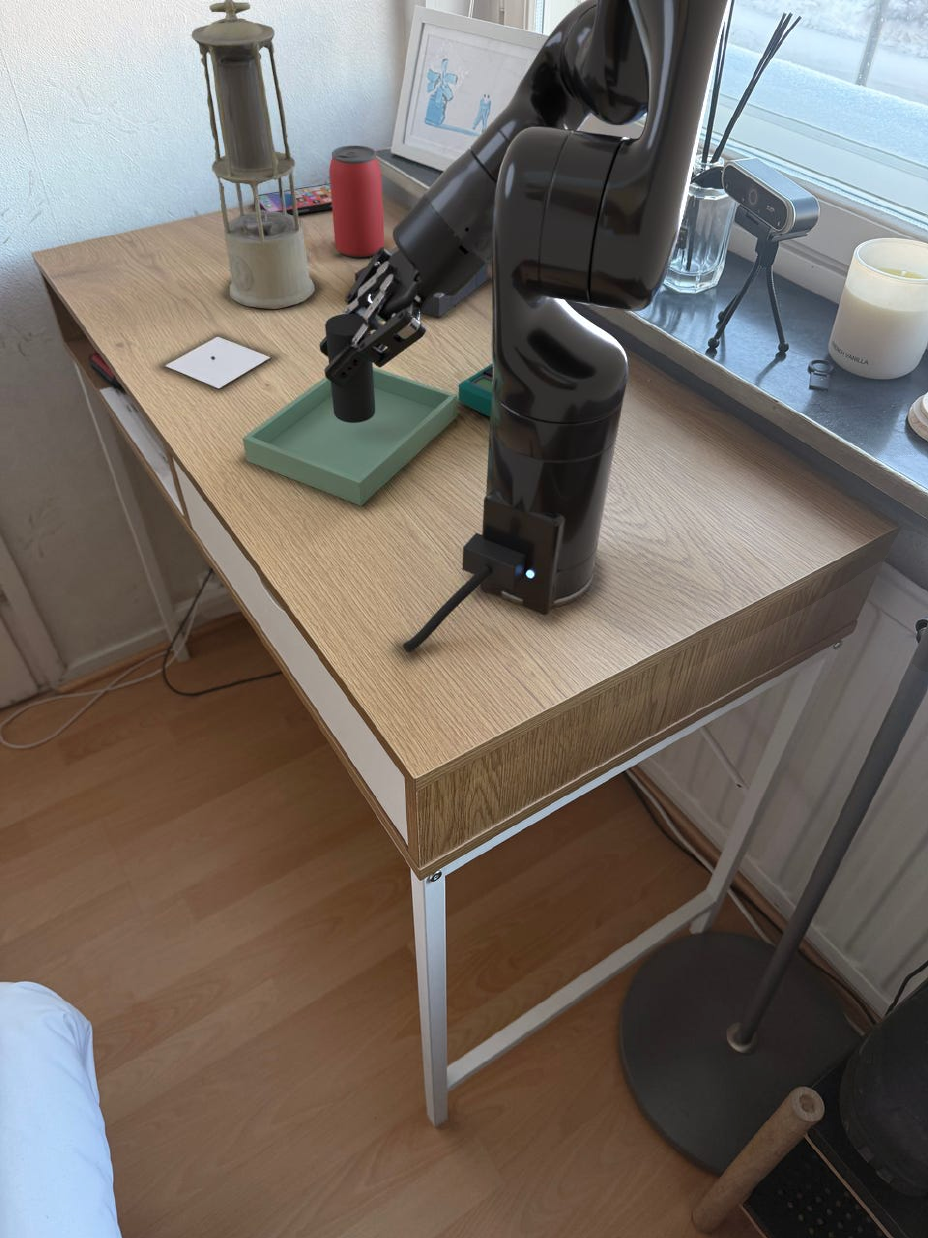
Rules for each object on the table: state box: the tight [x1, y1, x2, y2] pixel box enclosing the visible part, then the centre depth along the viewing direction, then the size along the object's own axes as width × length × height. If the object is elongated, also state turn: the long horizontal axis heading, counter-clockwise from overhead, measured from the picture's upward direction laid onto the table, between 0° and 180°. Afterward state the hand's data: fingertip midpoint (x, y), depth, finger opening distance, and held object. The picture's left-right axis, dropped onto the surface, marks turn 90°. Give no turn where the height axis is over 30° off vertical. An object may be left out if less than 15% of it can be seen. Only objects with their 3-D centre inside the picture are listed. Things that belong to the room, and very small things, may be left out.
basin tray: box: [242, 366, 458, 507], centre depth 85 cm, size 17×13×3 cm
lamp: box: [191, 0, 316, 310], centre depth 98 cm, size 10×13×30 cm
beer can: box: [328, 145, 385, 258], centre depth 112 cm, size 7×7×12 cm
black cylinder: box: [324, 313, 375, 423], centre depth 81 cm, size 4×4×9 cm
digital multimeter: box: [457, 363, 493, 418], centre depth 92 cm, size 7×15×3 cm, turn 142°
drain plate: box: [354, 246, 489, 319], centre depth 108 cm, size 12×12×2 cm
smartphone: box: [253, 182, 332, 216], centre depth 127 cm, size 7×1×15 cm
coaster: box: [164, 336, 271, 389], centre depth 95 cm, size 8×8×1 cm
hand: (329, 366), depth 80 cm, fingers closed on black cylinder, 4 cm apart
